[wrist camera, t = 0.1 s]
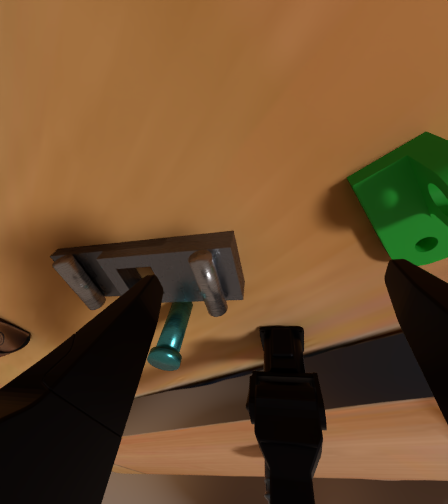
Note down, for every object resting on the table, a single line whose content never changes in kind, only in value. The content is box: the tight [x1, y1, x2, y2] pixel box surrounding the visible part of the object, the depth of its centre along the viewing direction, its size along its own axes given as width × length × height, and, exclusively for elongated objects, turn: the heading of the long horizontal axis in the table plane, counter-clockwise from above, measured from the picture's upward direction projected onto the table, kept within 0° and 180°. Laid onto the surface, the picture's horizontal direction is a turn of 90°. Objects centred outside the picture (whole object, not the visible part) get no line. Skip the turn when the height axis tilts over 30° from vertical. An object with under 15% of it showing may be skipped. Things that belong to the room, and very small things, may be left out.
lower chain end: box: [50, 238, 167, 310], centre depth 30 cm, size 8×16×4 cm, turn 102°
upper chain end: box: [96, 231, 245, 317], centre depth 28 cm, size 8×16×5 cm, turn 102°
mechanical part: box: [347, 132, 448, 266], centre depth 19 cm, size 12×6×8 cm, turn 40°
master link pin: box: [147, 302, 193, 371], centre depth 32 cm, size 4×4×9 cm
